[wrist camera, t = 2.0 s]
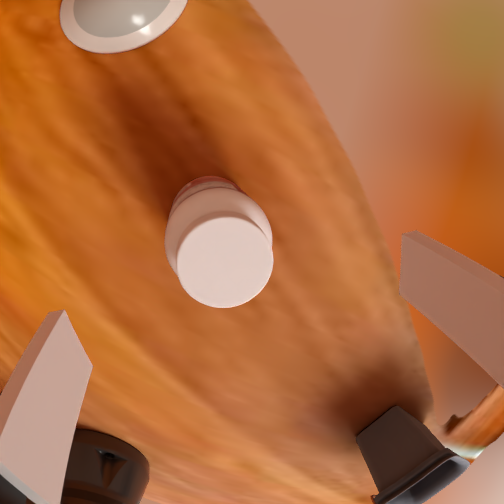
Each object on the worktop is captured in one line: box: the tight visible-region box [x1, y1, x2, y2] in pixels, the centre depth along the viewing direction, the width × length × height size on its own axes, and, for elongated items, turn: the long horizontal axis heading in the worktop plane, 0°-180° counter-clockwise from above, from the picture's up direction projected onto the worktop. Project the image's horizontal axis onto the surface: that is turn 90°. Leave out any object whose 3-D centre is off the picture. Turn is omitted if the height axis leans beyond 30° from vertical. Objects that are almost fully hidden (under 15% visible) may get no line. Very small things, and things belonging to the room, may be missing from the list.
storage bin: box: [356, 406, 470, 504], centre depth 37 cm, size 21×16×14 cm
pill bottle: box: [165, 176, 273, 308], centre depth 20 cm, size 6×6×11 cm
